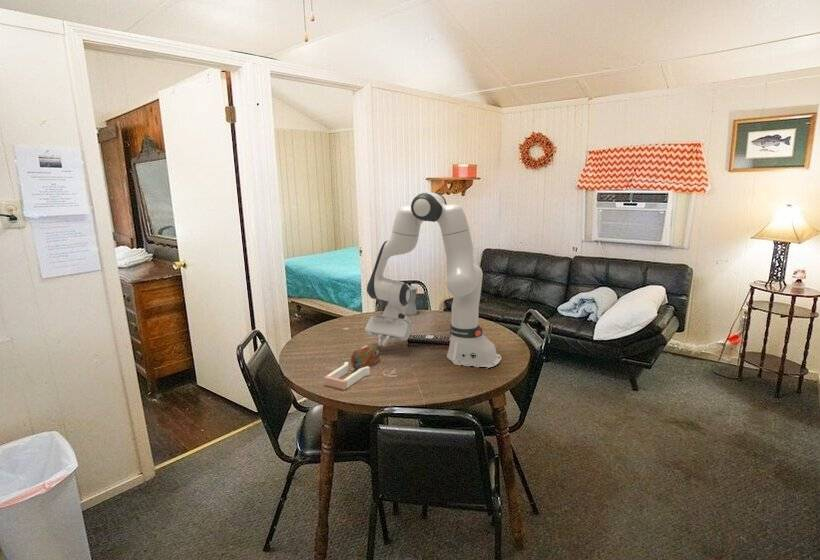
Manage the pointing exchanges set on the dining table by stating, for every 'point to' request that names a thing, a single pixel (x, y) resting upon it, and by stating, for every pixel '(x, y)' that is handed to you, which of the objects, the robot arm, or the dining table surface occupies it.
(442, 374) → the dining table surface
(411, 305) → the coffee maker
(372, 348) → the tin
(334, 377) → the guide channel
